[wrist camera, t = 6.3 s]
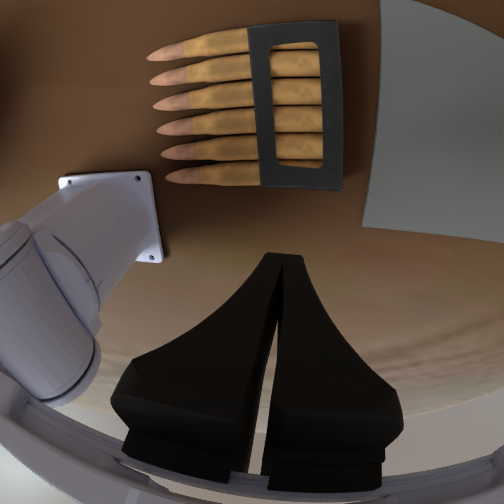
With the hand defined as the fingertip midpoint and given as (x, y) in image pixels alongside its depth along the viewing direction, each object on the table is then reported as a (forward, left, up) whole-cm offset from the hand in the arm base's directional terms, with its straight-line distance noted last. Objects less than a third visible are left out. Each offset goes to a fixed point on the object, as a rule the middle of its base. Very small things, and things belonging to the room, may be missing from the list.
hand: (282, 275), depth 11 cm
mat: (+13, +6, -10) cm, 18 cm away
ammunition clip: (+3, +6, -9) cm, 11 cm away
